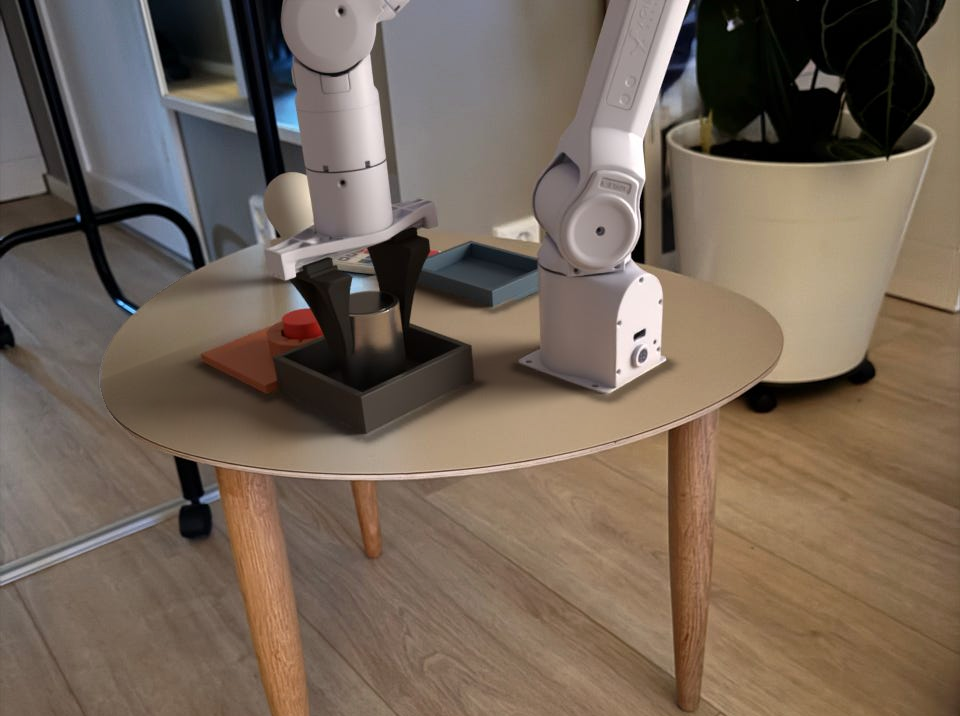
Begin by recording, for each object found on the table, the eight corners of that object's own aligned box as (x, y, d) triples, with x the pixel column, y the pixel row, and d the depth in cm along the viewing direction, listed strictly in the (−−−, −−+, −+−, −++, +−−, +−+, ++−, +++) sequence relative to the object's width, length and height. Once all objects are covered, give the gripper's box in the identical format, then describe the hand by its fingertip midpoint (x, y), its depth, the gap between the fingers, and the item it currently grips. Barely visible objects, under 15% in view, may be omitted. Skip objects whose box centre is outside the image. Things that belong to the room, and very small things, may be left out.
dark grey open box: (475, 384, 76) (471, 344, 74) (366, 439, 69) (360, 397, 68) (385, 349, 83) (380, 312, 81) (279, 396, 76) (271, 356, 75)
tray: (557, 282, 94) (557, 263, 93) (493, 311, 88) (491, 291, 87) (471, 258, 101) (470, 240, 100) (407, 284, 96) (405, 265, 95)
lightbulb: (332, 288, 96) (314, 179, 91) (272, 291, 97) (252, 183, 91) (340, 267, 102) (324, 163, 96) (284, 271, 102) (264, 167, 96)
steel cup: (421, 382, 76) (412, 299, 72) (371, 406, 73) (359, 321, 69) (380, 365, 79) (369, 284, 75) (330, 387, 76) (317, 305, 72)
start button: (335, 331, 80) (332, 314, 79) (301, 345, 78) (298, 328, 77) (310, 321, 82) (307, 304, 82) (276, 335, 80) (273, 318, 80)
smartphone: (330, 238, 107) (446, 250, 101) (331, 246, 108) (447, 258, 102) (291, 258, 102) (412, 272, 96) (293, 267, 102) (412, 281, 96)
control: (363, 358, 82) (358, 325, 80) (269, 399, 76) (262, 366, 74) (294, 329, 88) (289, 299, 86) (203, 365, 82) (195, 334, 81)
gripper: (387, 134, 73) (406, 300, 80) (226, 178, 65) (263, 358, 72) (450, 145, 69) (463, 319, 76) (286, 194, 60) (319, 384, 68)
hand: (370, 340), depth 74 cm, fingers closed on steel cup, 5 cm apart
